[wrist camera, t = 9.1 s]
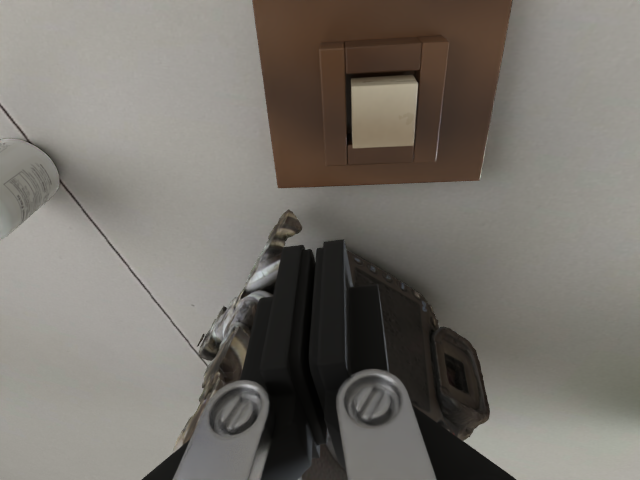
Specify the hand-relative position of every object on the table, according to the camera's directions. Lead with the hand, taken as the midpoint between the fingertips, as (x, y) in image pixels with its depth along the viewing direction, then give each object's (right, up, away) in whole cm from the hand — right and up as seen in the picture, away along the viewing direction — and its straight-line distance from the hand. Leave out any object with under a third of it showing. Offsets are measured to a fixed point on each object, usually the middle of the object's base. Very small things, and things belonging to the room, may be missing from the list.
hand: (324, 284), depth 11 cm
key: (+3, +8, +9) cm, 13 cm away
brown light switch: (+3, +10, +12) cm, 16 cm away
